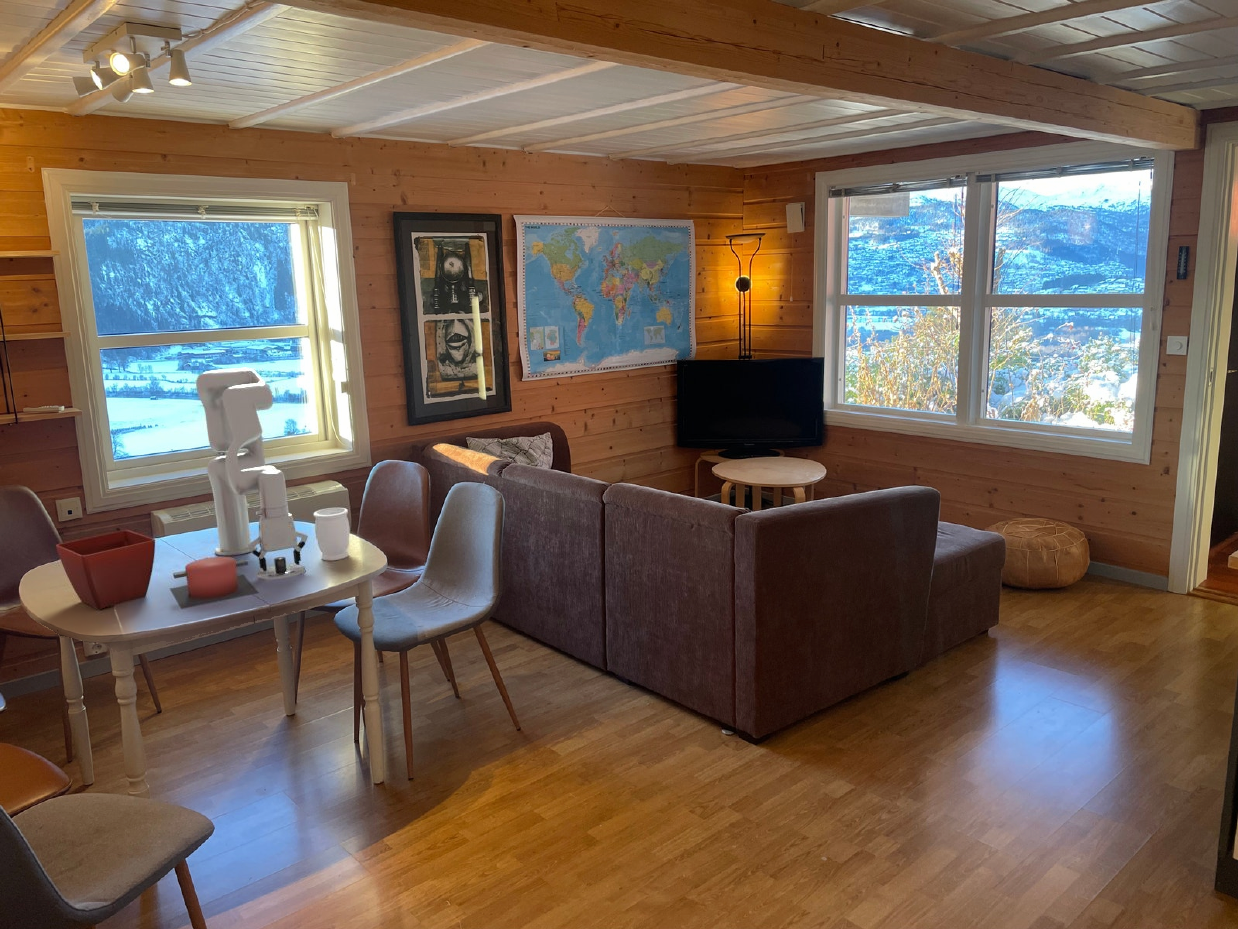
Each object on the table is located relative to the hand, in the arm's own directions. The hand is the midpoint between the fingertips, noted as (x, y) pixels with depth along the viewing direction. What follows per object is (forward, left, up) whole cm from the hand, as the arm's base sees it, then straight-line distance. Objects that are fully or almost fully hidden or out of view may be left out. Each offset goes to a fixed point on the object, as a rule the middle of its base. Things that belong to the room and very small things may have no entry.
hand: (280, 566), depth 272 cm
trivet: (+6, -20, -2) cm, 21 cm away
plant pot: (-6, -44, -2) cm, 44 cm away
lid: (0, 0, -2) cm, 2 cm away
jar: (-6, +18, -2) cm, 19 cm away
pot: (+6, -20, -1) cm, 21 cm away
